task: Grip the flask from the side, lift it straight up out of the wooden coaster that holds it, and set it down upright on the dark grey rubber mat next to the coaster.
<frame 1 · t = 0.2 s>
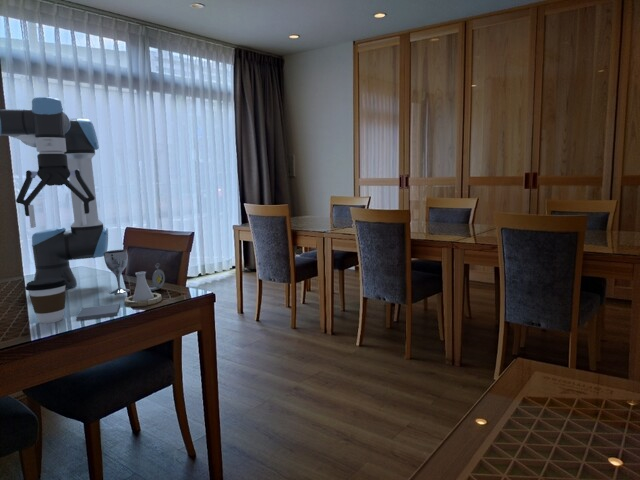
hand: (59, 226, 140), 28 cm above the table, tool pointing down, fingers open, 13 cm apart
flask: (143, 302, 157), resting in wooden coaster
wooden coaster: (143, 301, 157), on the table
wine glass: (119, 292, 174), on the table
coffee cup: (51, 320, 141), on the table
rubber mat: (99, 313, 146), on the table
pocket watch: (153, 290, 174), on the table
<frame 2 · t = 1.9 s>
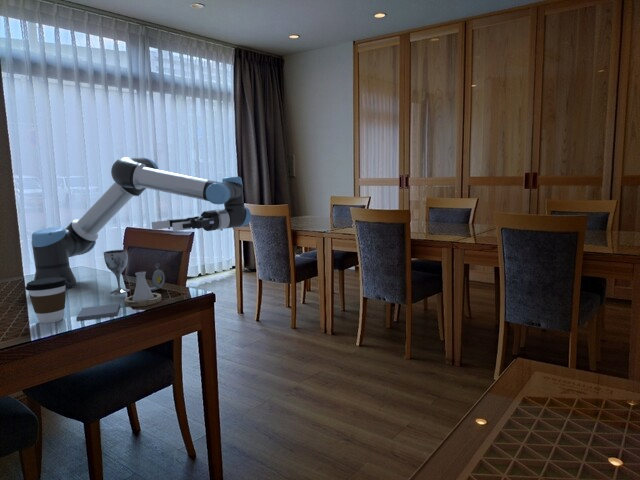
hand: (162, 226, 161), 24 cm above the table, tool horizontal, fingers open, 13 cm apart
nothing on the table moved.
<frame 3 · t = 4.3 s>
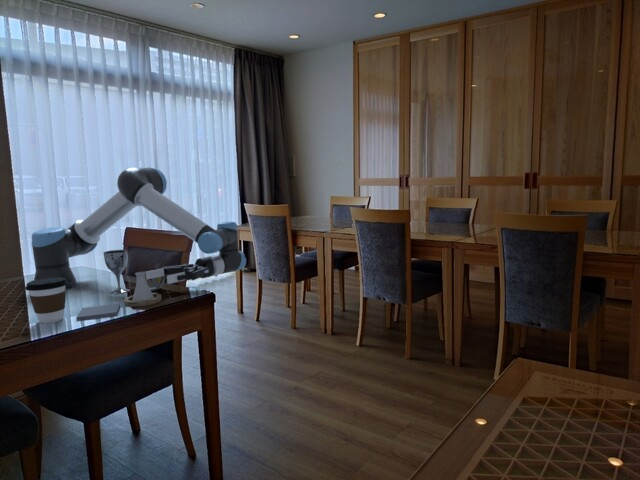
hand: (156, 277, 160), 7 cm above the table, tool horizontal, fingers open, 13 cm apart
nothing on the table moved.
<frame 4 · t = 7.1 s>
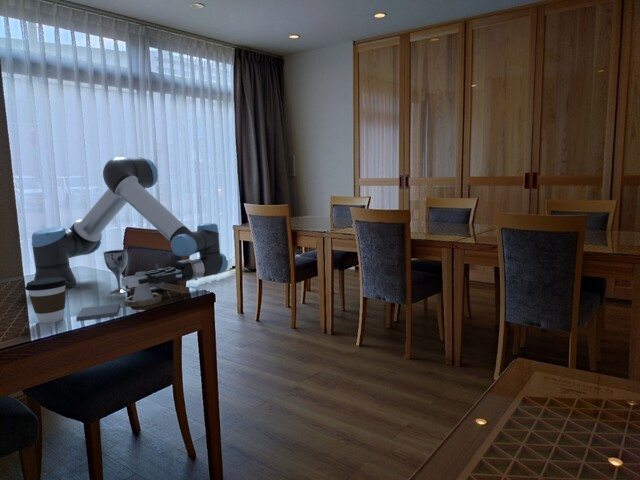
hand: (125, 282, 152), 8 cm above the table, tool horizontal, fingers closed on flask, 3 cm apart
flask: (143, 302, 157), resting in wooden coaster, touching gripper
everything else where it was.
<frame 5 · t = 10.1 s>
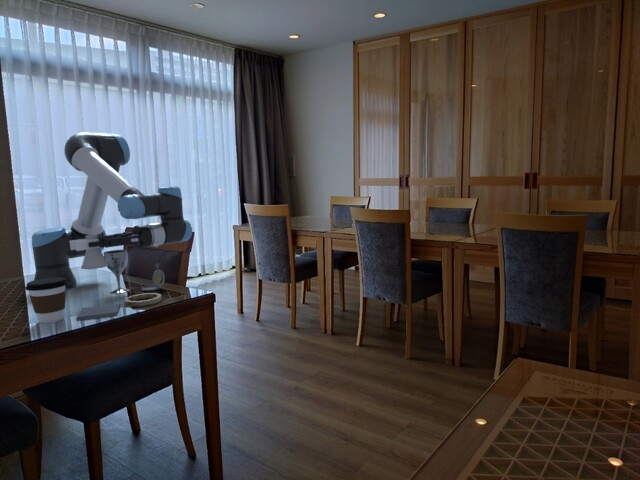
hand: (73, 245, 139), 22 cm above the table, tool horizontal, fingers closed on flask, 3 cm apart
flask: (95, 268, 144), point 14 cm above the table, touching gripper
everything else where it was.
when the fingers open (9 cm above the table, at t = 13.0 s): flask stays where it is, resting on rubber mat.
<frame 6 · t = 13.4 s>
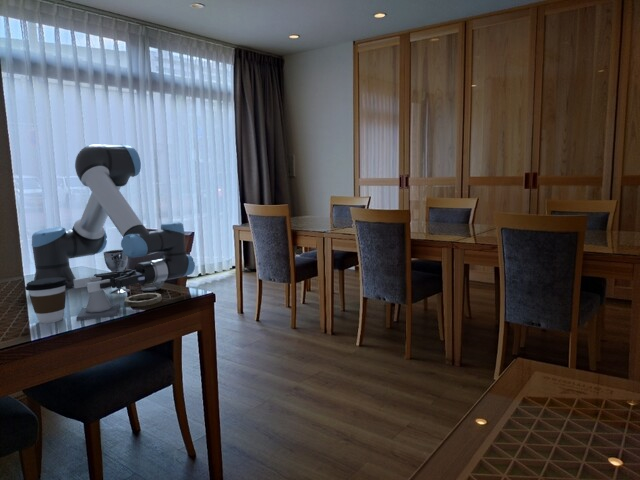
hand: (80, 286, 141), 9 cm above the table, tool horizontal, fingers open, 9 cm apart
flask: (99, 310, 146), point 1 cm above the table, touching rubber mat
everything else where it was.
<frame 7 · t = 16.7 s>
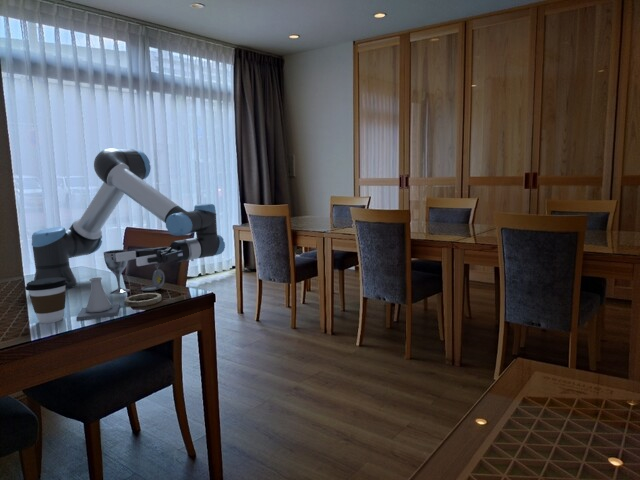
hand: (126, 259, 151), 15 cm above the table, tool horizontal, fingers open, 13 cm apart
nothing on the table moved.
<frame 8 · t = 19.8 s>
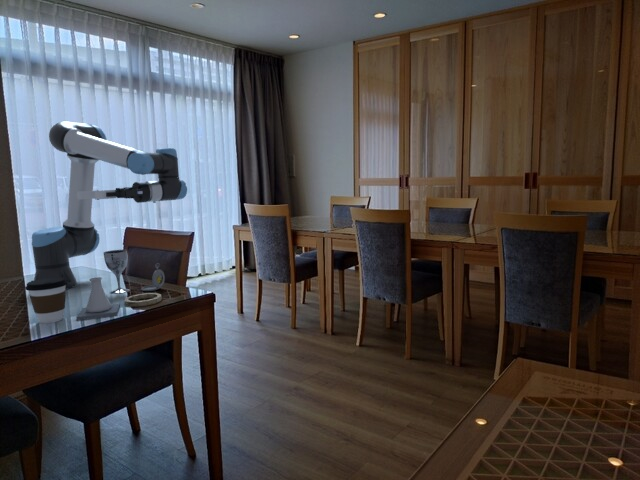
hand: (86, 195, 157), 36 cm above the table, tool horizontal, fingers open, 13 cm apart
nothing on the table moved.
at the end: flask inside the target area on the rubber mat (0.0 cm from its centre), point 0.8 cm above the rubber mat's base; flask tilted 0°; the gripper is holding nothing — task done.
